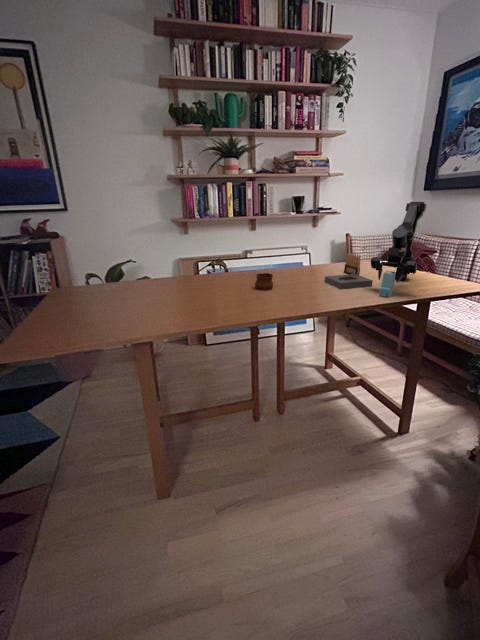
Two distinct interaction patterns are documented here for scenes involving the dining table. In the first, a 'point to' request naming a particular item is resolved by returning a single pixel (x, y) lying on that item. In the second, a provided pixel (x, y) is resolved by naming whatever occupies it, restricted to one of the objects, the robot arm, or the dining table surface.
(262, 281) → the ceramic pot
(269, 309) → the dining table surface
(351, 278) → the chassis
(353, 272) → the ammunition clip
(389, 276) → the servo
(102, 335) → the dining table surface
